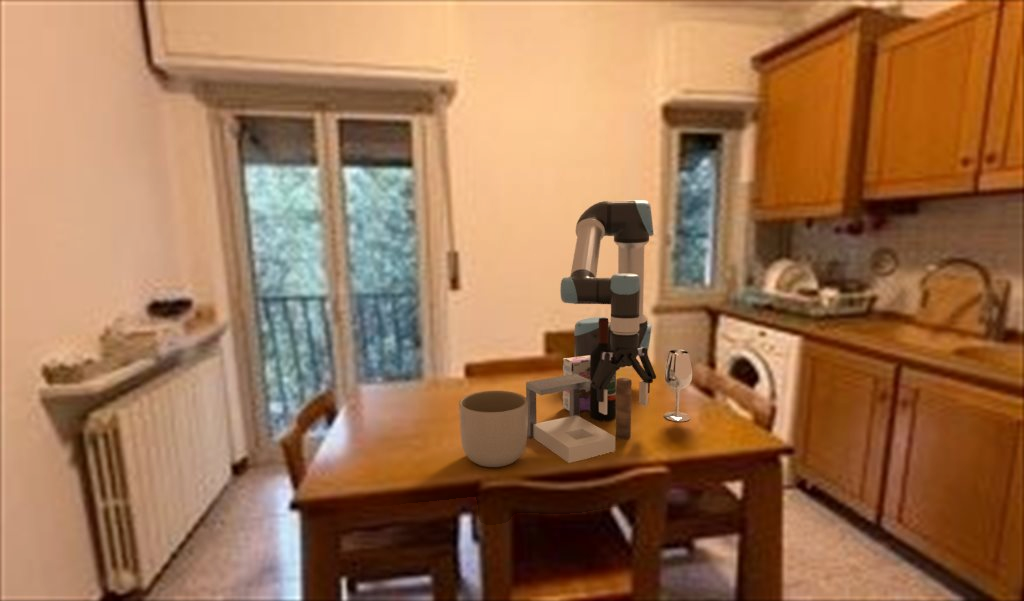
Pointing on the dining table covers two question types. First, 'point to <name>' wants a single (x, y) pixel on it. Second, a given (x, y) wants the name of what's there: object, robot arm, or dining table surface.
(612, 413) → the wine bottle
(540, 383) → the gray arch stand
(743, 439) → the dining table surface
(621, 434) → the peg
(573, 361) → the candy box
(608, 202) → the robot arm
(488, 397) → the planter
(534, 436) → the socket deck
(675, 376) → the wineglass
